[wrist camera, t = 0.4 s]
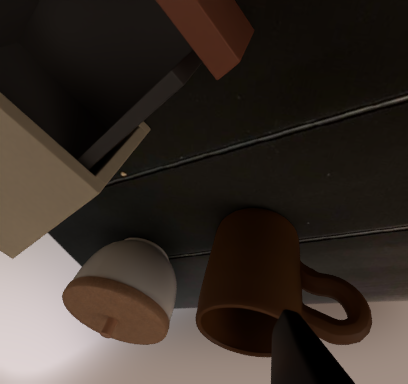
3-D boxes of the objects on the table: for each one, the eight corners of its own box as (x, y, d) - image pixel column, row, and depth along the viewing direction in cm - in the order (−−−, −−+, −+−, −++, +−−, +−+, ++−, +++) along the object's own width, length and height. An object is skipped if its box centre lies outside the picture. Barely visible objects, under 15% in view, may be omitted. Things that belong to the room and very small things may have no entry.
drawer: (173, -325, 9) (60, -609, 5) (323, -29, 13) (343, -23, 9) (5, 27, 18) (-92, 50, 14) (123, 143, 22) (79, 193, 18)
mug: (359, 204, 22) (394, 321, 15) (347, 265, 26) (369, 377, 19) (211, 203, 25) (182, 297, 18) (223, 257, 30) (203, 349, 23)
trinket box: (124, 280, 38) (87, 354, 31) (84, 223, 32) (27, 299, 25) (199, 284, 34) (176, 368, 27) (170, 220, 28) (131, 307, 21)
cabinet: (20, -11, 18) (-120, 5, 12) (151, 128, 22) (99, 193, 16) (-37, 110, 25) (-141, 158, 19) (69, 197, 29) (12, 259, 23)
